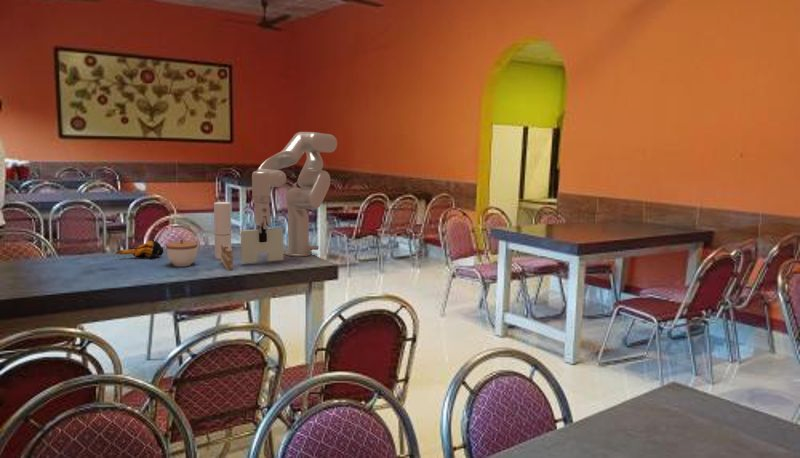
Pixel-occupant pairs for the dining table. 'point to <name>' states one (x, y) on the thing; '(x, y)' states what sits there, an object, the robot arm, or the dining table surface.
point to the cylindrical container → (222, 226)
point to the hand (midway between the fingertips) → (262, 241)
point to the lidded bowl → (181, 252)
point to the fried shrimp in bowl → (144, 250)
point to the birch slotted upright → (227, 257)
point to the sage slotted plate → (261, 245)
